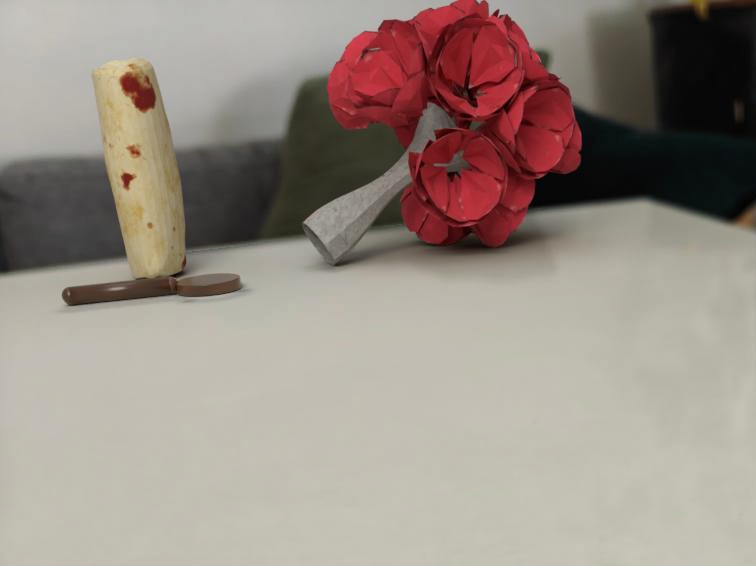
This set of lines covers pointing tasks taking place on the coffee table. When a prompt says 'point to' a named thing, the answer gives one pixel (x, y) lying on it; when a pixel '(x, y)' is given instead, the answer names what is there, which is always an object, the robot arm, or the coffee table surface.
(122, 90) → the food model
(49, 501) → the coffee table surface
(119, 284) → the spoon
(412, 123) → the bouquet
